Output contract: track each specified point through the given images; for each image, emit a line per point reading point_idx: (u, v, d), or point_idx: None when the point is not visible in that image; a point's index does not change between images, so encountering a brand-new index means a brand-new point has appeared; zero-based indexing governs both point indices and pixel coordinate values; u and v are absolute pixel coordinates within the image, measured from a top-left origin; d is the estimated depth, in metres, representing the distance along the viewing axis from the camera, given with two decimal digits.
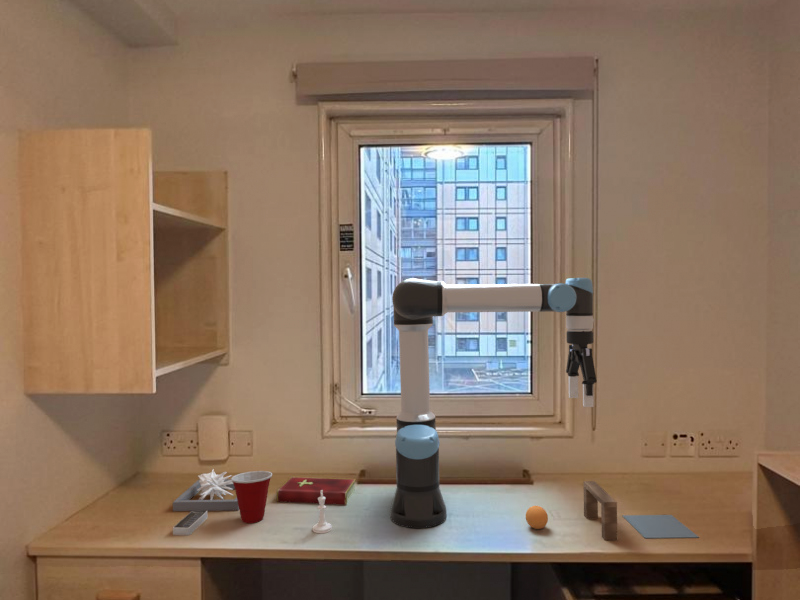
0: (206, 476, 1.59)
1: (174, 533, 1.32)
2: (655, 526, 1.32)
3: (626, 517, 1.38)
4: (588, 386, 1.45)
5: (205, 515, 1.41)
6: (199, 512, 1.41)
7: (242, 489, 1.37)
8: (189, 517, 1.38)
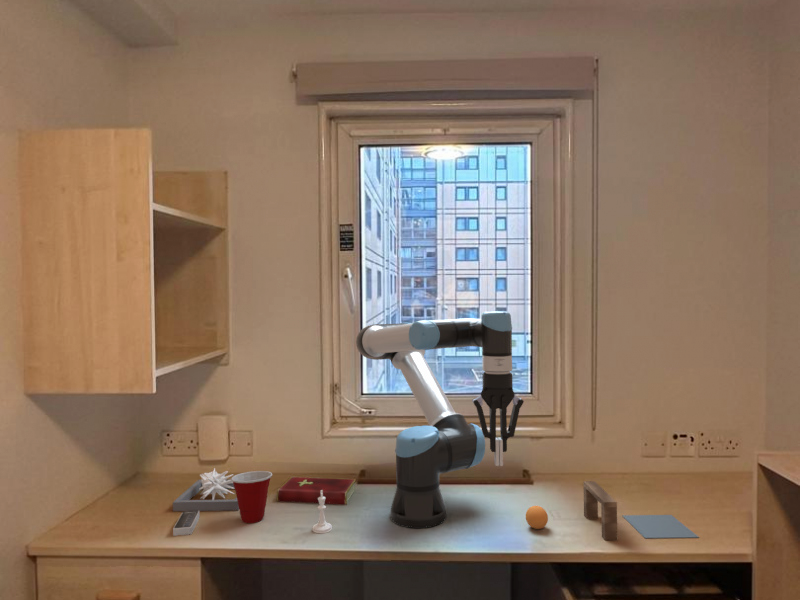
0: (208, 475, 1.59)
1: (175, 534, 1.32)
2: (655, 526, 1.32)
3: (626, 517, 1.38)
4: (490, 440, 1.33)
5: (198, 515, 1.42)
6: (191, 512, 1.41)
7: (242, 489, 1.37)
8: (184, 518, 1.38)
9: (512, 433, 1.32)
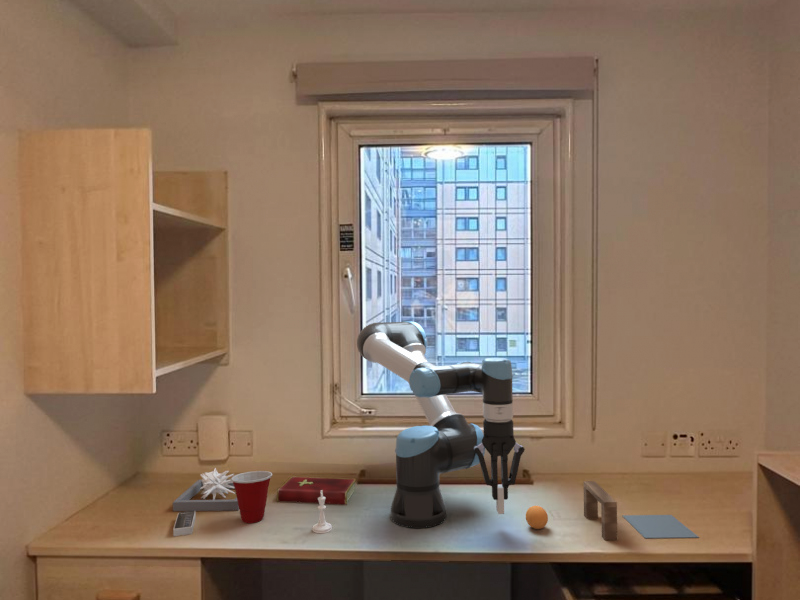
0: (208, 475, 1.60)
1: (175, 534, 1.31)
2: (655, 526, 1.32)
3: (626, 517, 1.38)
4: (492, 487, 1.33)
5: (195, 515, 1.41)
6: (188, 513, 1.41)
7: (242, 489, 1.37)
8: (182, 518, 1.38)
9: (513, 481, 1.31)
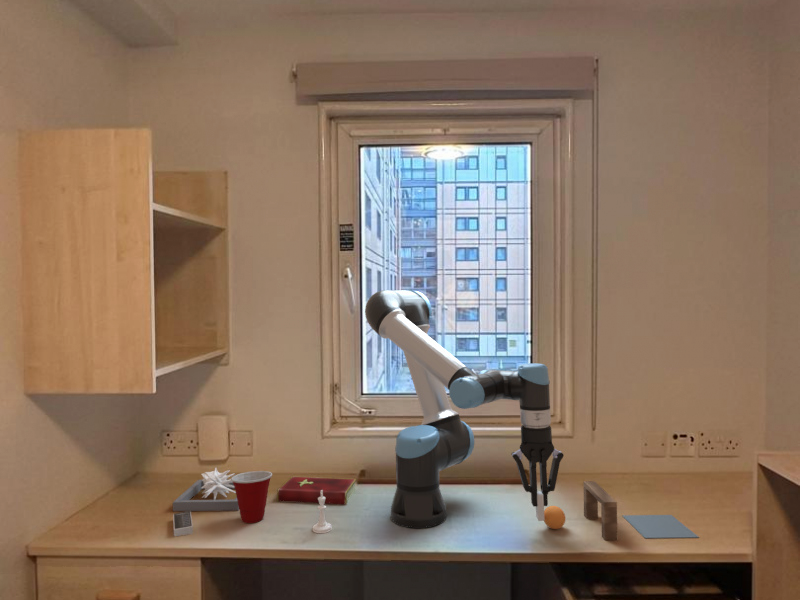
0: (209, 474, 1.60)
1: (176, 534, 1.31)
2: (655, 526, 1.32)
3: (626, 517, 1.38)
4: (531, 494, 1.32)
5: None
6: (184, 513, 1.41)
7: (242, 489, 1.37)
8: (179, 519, 1.37)
9: (553, 487, 1.31)
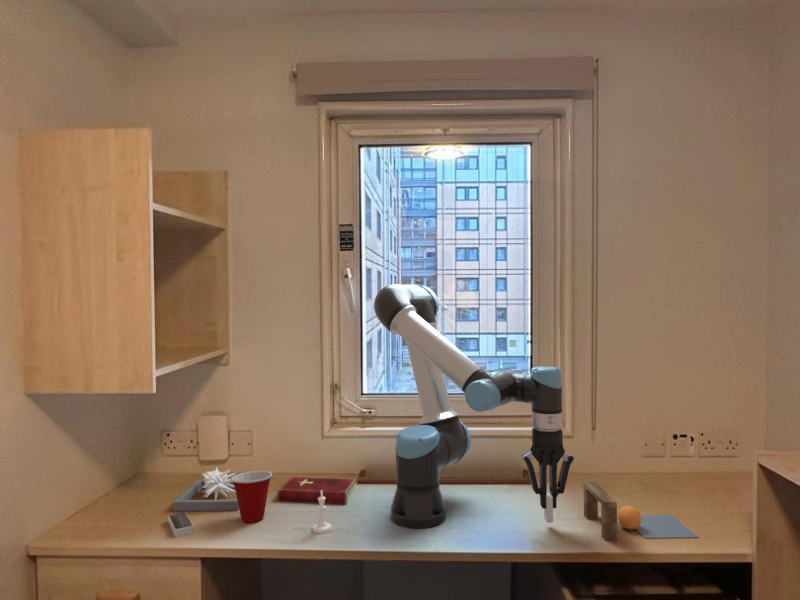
0: (210, 474, 1.61)
1: (177, 535, 1.31)
2: (655, 526, 1.32)
3: None
4: (540, 496, 1.33)
5: None
6: (179, 514, 1.40)
7: (242, 489, 1.37)
8: (176, 519, 1.37)
9: (562, 490, 1.32)
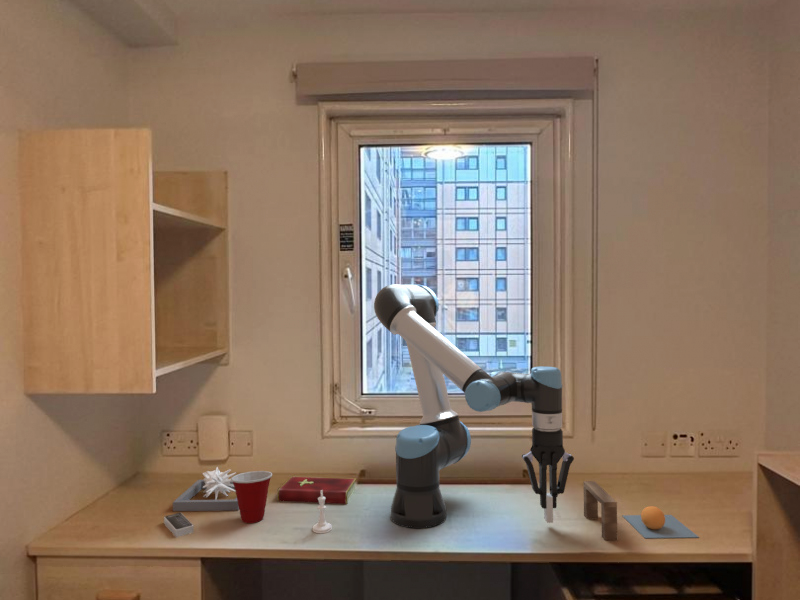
0: (210, 474, 1.61)
1: (178, 535, 1.31)
2: None
3: (626, 517, 1.38)
4: (540, 496, 1.33)
5: None
6: (175, 515, 1.40)
7: (242, 489, 1.37)
8: (174, 520, 1.36)
9: (562, 490, 1.32)
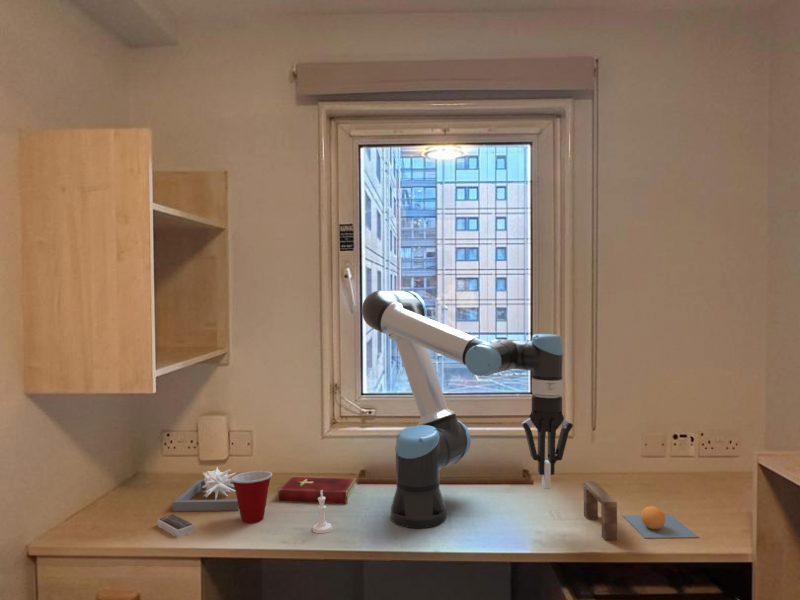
0: (211, 473, 1.61)
1: (179, 535, 1.31)
2: None
3: (626, 517, 1.38)
4: (538, 463, 1.33)
5: None
6: (169, 517, 1.39)
7: (242, 489, 1.37)
8: (171, 521, 1.36)
9: (560, 456, 1.32)
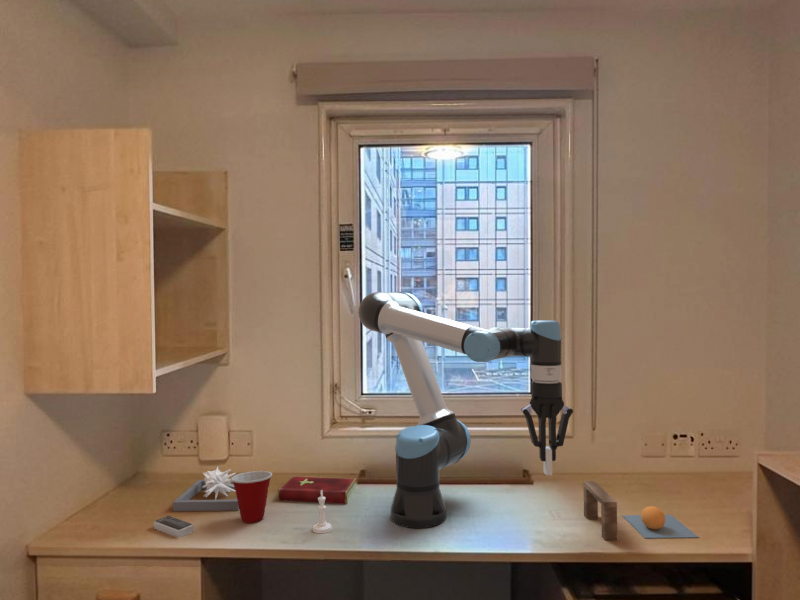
0: (211, 473, 1.61)
1: (180, 535, 1.31)
2: None
3: (626, 517, 1.38)
4: (539, 449, 1.33)
5: None
6: (165, 518, 1.38)
7: (242, 489, 1.37)
8: (168, 523, 1.35)
9: (561, 442, 1.32)
